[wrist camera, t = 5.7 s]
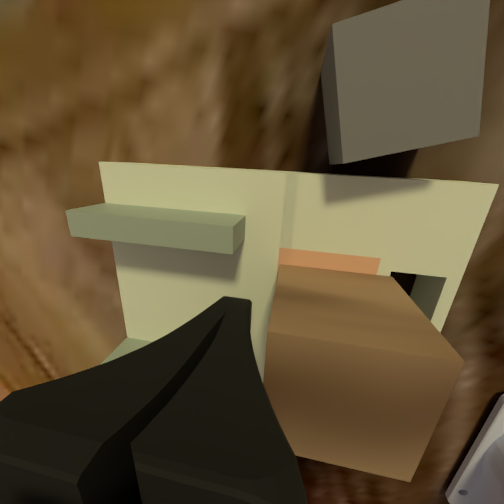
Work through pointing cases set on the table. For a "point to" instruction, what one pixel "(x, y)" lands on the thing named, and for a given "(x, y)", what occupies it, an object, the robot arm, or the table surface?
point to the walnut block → (355, 370)
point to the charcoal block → (404, 77)
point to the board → (272, 237)
